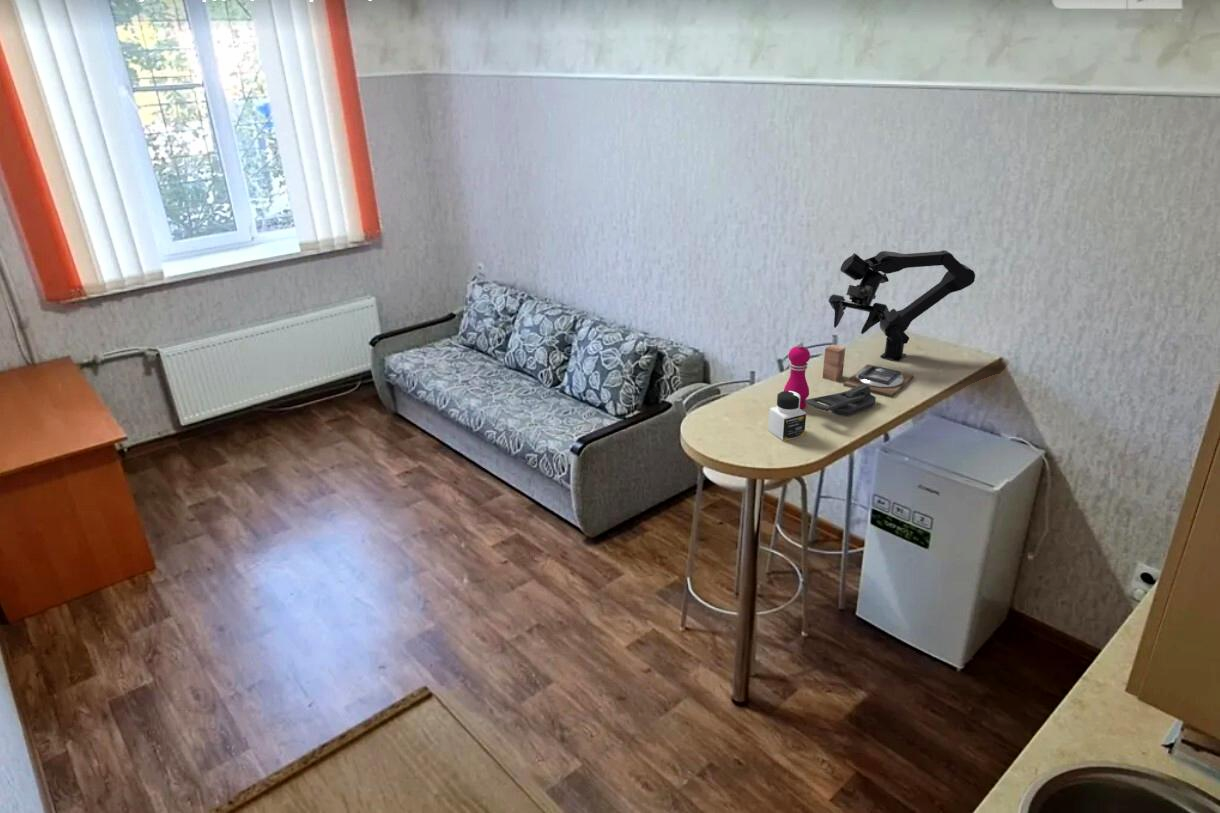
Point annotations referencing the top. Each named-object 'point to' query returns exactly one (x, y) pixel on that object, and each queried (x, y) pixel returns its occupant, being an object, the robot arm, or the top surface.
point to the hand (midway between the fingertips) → (848, 330)
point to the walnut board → (886, 392)
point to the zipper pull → (845, 401)
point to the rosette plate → (879, 377)
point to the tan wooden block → (833, 362)
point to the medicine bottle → (787, 417)
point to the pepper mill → (798, 372)
